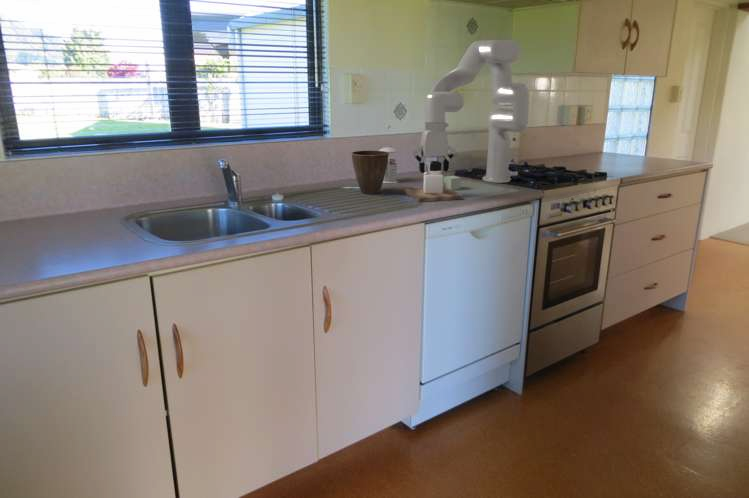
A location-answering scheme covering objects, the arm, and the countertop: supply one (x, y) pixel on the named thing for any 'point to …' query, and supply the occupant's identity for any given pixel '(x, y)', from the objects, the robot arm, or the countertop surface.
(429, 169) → the medicine bottle
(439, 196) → the walnut board
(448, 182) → the sage block
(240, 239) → the countertop surface
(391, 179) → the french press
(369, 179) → the plant pot
